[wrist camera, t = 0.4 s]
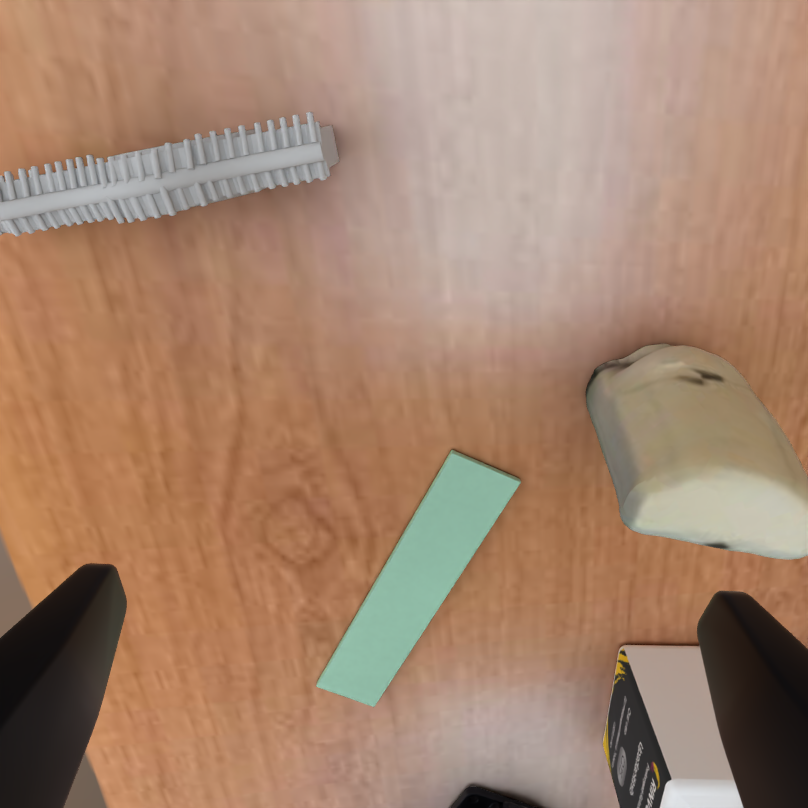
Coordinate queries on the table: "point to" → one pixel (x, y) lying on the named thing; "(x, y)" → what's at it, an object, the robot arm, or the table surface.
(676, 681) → the security camera
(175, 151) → the garden wall model
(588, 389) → the beige rounded chunk
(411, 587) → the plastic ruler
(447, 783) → the table surface
